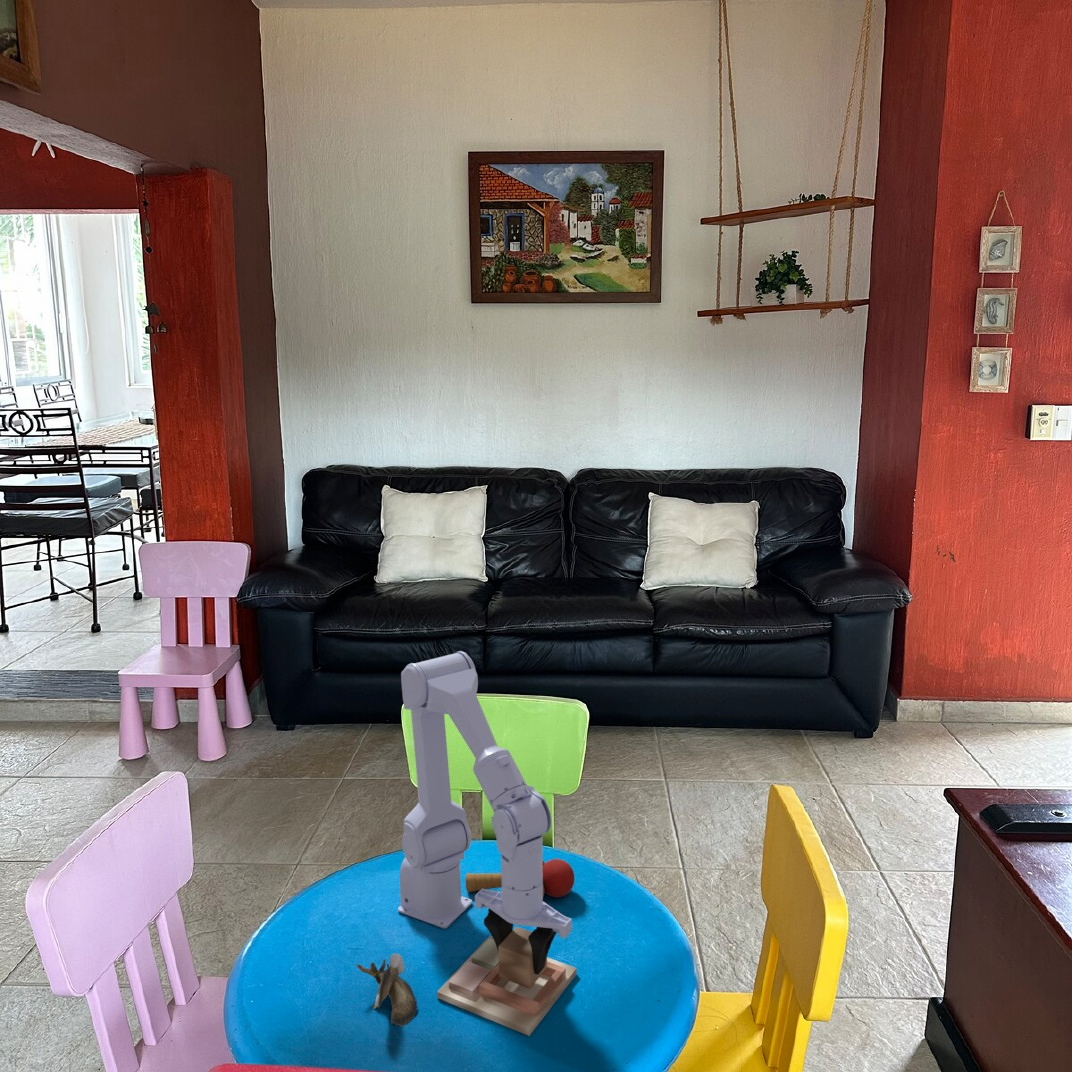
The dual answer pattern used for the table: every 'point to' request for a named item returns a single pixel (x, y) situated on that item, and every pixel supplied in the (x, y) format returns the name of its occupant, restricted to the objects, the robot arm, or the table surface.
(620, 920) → the table surface
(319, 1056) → the table surface
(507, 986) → the puzzle board
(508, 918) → the robot arm
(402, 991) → the eagle figurine
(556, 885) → the kendama
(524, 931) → the walnut block
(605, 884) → the table surface
